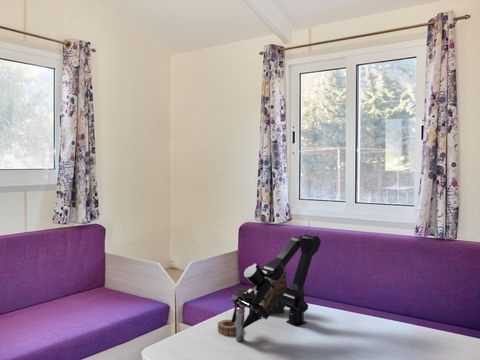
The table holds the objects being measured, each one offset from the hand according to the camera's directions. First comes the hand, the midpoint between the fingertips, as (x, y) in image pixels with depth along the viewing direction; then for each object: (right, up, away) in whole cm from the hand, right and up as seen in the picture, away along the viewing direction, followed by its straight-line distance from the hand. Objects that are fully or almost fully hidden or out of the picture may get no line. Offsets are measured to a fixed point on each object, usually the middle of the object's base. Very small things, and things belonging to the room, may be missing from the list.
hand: (237, 324), depth 165 cm
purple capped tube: (+1, -7, +1) cm, 7 cm away
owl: (+15, -5, +35) cm, 38 cm away
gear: (-4, -6, +10) cm, 13 cm away
